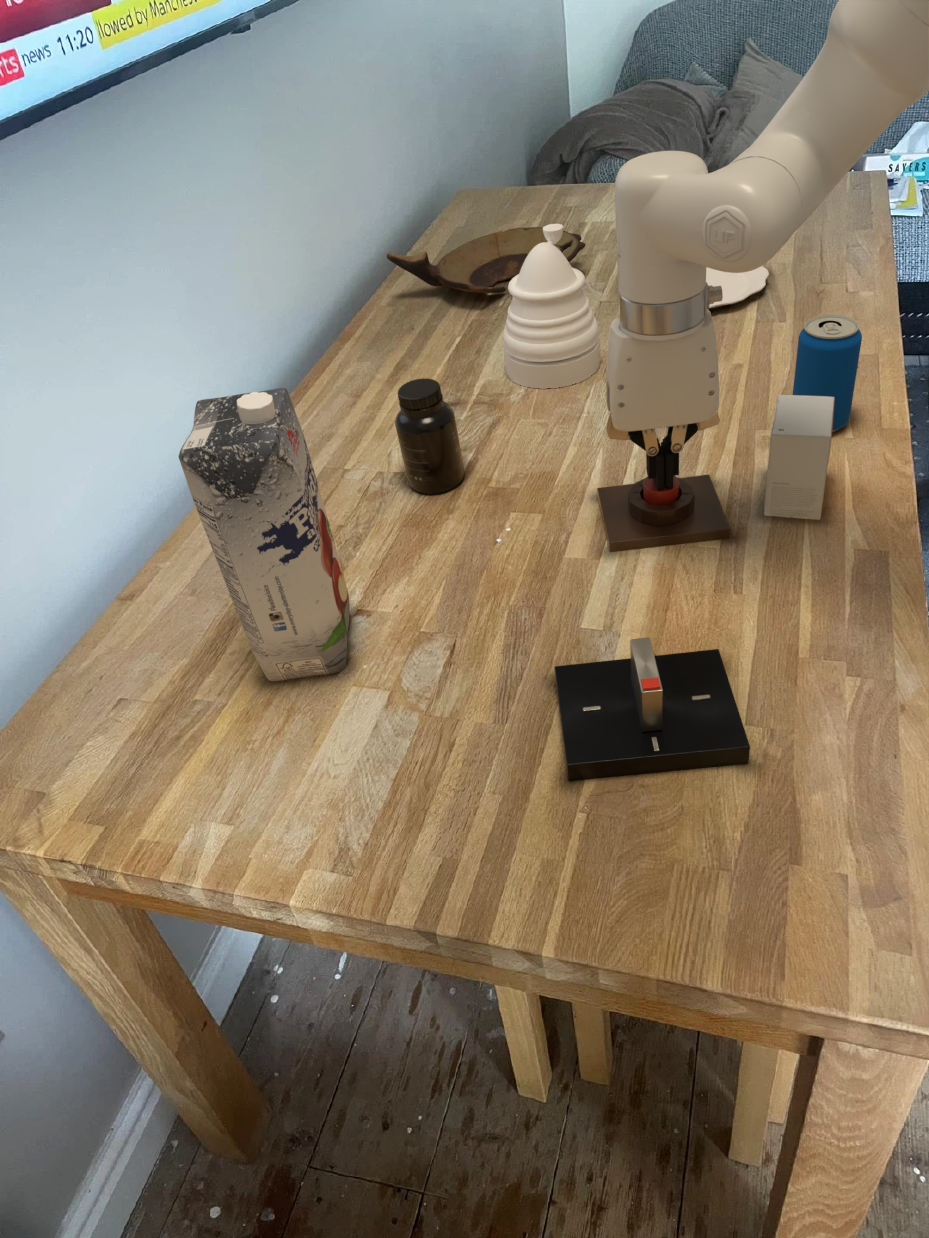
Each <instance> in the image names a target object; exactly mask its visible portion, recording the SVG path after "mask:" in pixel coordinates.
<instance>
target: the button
mask: <svg viewBox="0 0 929 1238" xmlns="http://www.w3.org/2000/svg"><path fill="white" fill-rule="evenodd" d="M644 478H645V479H644ZM644 478H643V479H644V481H643V498H644V500H645V501H646V502H648V503H649V504H655V505H665V504H671V503H673V502H675V501H677V499H678V498H679V480H678V478H679V477H678V478H677V475H676V476H673V488H667V487H665V484H664V488H663V489H660V490H657V488H656V485H655V482H654V478H652V479H648V476H646V477H644Z"/></svg>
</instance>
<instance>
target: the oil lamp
mask: <svg viewBox="0 0 929 1238" xmlns="http://www.w3.org/2000/svg"><path fill="white" fill-rule="evenodd" d="M543 227H544V226H543ZM543 227H541V226H536V227H535V226H530V227H515V228H510V229H509V228H508V229H507V230H504V231H503V230H502V231H501V230H500V231H496V232H492V233H489V234H486V235H482V236H479V237H477V238H475V239H473V240H470V241H467V242H465V243H463V244H462V245H460V246H458V247H456V248H454V249H452V250H451V251H449V252H447V253H446V254H445V255H444V256H443V257H441V259H440V260H439V261H438V263H437V264H436V265H434V264H432V263H431V262H430V259H429V255H428V252H427V251H425V250H424V251H422V252H420V253H417V254H414V255H404V254H398V253H394V252H388V253H387V254H386V258H387V260H388V261H389V262H391V263H392V264H394V265H396V266H398V267H399V268H400V269H403V270H404V271H406V272H407V273H410V274H412V275H413V276H414V277H417V278H418V279H420V280H421V281H422V282H423V283H425V284H428V285H429V286H431V287H436V288H437V287H444V286H448V287H450V288H451V289H455V290H459V291H463V292H469V293H477V294H500V293H504V292H506V291H507V289H506V288H505V286H496V287H495V285H496V284H497V283H500V282H504V281H507V280H512V278H513V277H515V276H516V275H518V274H519V273H520V270H521V268H522V265H523V263H524V261H525V259H526V257H527V256H528V254H529V253H530V251H531V250H532V249H533V248H534V247H535V246H536V245H538V244H540V243H543V242H548V241H547V240H546V238H545V236H544V233H543ZM581 240H582V236H581V234H578V233H571V232H569V231H566V230H563V234H562V237H561V239H560V240H559V241H558V242H557V243H556V244H554V246H555V247H557V248H558V249H559V250H560V251H561V252H562V253H563V255H564V256H565V257H566V259H567V260H568V262H569V263H570V262H572V261H573V260H574V259H575V258H576V257H577V255H578V253H579V252H580V251H582V250H583V249H584V248H585V247H586V243H585V242H583V241H581Z"/></svg>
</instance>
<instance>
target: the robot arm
mask: <svg viewBox="0 0 929 1238" xmlns="http://www.w3.org/2000/svg"><path fill="white" fill-rule="evenodd" d="M928 92H929V0H837V3H836V4H835V6H834V9H833V10H832V13H831V15H830V17H829V21H828V28H827V34H826V38H825V41H824V43H823V45H822V48H821V49H820V51H819V53H818V54H817V56H816V58H815V60H814V61H813V63H812V64H811V66H810V67H809V69H808V70H807V72H806V73H805V75H804V76H803V77H802V79H801V80H800V81H799V83H798V85H797V86H796V87H795V88H794V90H793V91H792V92H791V94H790V95H789V96H788V98H787V99H786V101H784V103H783V105H782V106H781V107H780V108H779V110H778V111H777V112H776V114H775V115H774V116H773V118H772V119H771V120H770V121H769V123H768V124H767V125H766V126H765V128H764V129H763V130H762V131H761V133H760V134H759V135H758V137H756V139H755V140H754V141H753V143H752V144H751V145H749V147H748V148H747V149H745V150H744V151H742V152H741V153H740V154H739V155H738V156H737V157H735V158H734V159H733V160H732V161H731V162H730V163H729V164H727V165H726V166H723V167H721V168H719V169H716V170H714V171H712V172H709V169H708V167H707V164H706V162H705V161H704V160H703V158H701V157H700V156H698V155H697V154H695V153H693V152H689V151H683V150H659V151H653V152H648V153H645V154H644V153H643V154H641V155H639V156H636V157H633V158H631V159H629V160H628V161H626V162H625V163H624V164H623V165H622V166H621V167H620V169H619V170H618V172H617V174H616V177H615V180H614V181H615V182H614V205H615V206H614V207H615V235H616V236H615V237H616V262H617V263H616V264H617V265H616V266H617V285H618V286H617V287H618V288H617V289H618V292H617V293H618V294H617V295H618V296H617V297H618V317H616V318H614V319H613V320H612V321H611V322H610V327H609V332H608V338H607V349H606V365H605V366H606V369H605V394H606V396H605V397H606V408H607V411H608V412H609V414H608V419H607V424H606V428H605V429H606V433H607V436H608V437H607V438H609V439H610V440H616V441H617V440H618V441H619V440H620V441H627V440H628V441H631V442H632V443H634V444H635V445H636V446H638V447H639V448H640V449H642V450H643V451H645V459H646V460H645V463H646V464H645V465H646V475H647V476H646V477H648V479H652V478H654V482H655V485H656V488H657V490H660V489H663V488H664V484H665V487H667V488H673V476H676V477H677V476H679V475H680V453H681V452H683V450H684V445H685V444H686V443H687V442H689V440H690V439H691V438H693V437H694V435H696V433H697V432H699V431H700V432H701V431H704V430H707V429H710V428H713V427H715V426H717V425H719V423H720V416H719V413H718V411H719V405H720V376H719V361H718V359H719V358H718V348H717V339H716V331H715V326H714V321H713V317H712V316H713V315H712V313H711V311H710V309H707V308H709V305H710V304H713V303H714V302H719V301H722V298H723V293H722V287H721V286H715V287H713V286H712V285H710V286H709V285H708V284H707V282H706V267H708V268H711V269H715V270H719V271H723V272H729V273H743V272H748V271H752V270H755V269H757V268H759V267H761V266H765V264H767V263H768V262H769V261H770V260H771V259H772V258H774V257H775V255H776V254H777V253H778V252H779V251H780V250H781V249H782V248H783V247H784V246H785V245H786V243H787V242H788V241H789V240H790V239H791V237H792V236H793V235H794V234H795V233H796V231H798V230H799V228H800V227H801V226H802V225H803V224H804V223H805V222H806V221H807V220H808V219H809V218H810V216H812V214H814V212H815V211H816V210H817V209H818V207H819V206H821V204H822V203H823V202H824V201H825V199H826V198H827V197H828V196H829V195H830V194H831V193H832V192H833V190H834V189H835V188H836V186H837V185H839V184H840V182H841V181H842V180H843V178H844V177H846V175H847V174H848V173H849V172H850V171H851V169H852V168H853V167H854V166H855V165H856V164H857V162H858V161H859V160H860V159H861V158H862V157H863V156H864V155H865V153H866V152H867V151H868V150H869V149H870V148H871V147H872V145H873V144H874V143H876V141H877V140H878V139H879V138H880V137H881V136H882V134H883V133H884V132H885V131H886V130H887V129H888V128H889V127H890V126H891V125H892V123H893V122H894V121H895V120H896V119H897V118H898V117H899V116H900V115H901V114H902V113H904V111H906V110H907V109H908V108H909V107H911V106H913V105H914V104H915V103H917V102H918V101H920V100H921V99H922V98H923V97H924V96H926V94H927V93H928ZM662 428H666V432H665V436H664V438H662V441H660V440H659V438H658V437H657V433H656V429H662Z"/></svg>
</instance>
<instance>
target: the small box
mask: <svg viewBox="0 0 929 1238" xmlns="http://www.w3.org/2000/svg"><path fill="white" fill-rule="evenodd" d="M834 402H835V397H828V396H802V395H793V394H778V395H777V396H776V406H775V412H774V417H773V423H772V428H771V432H770V434H769V435H770V436H769V448H768V460H767V470H766V471H767V473H766V484H765V496H764V497H765V498H764V505H763V506H764V508H763V515H764V517H765V516H766V517H779V518H788V519H789V518H792V519H805V520H818V521H819V520H821V518H822V512H823V511H822V510H823V503H824V496H825V489H826V482H827V481H826V480H827V476H828V475H827V474H828V467H829V461H830V453H831V447H832V445H831V444H832V436H833V432H832V429H833V417H834Z"/></svg>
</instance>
